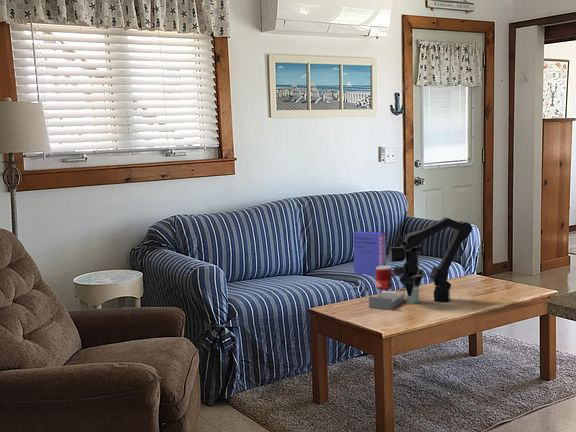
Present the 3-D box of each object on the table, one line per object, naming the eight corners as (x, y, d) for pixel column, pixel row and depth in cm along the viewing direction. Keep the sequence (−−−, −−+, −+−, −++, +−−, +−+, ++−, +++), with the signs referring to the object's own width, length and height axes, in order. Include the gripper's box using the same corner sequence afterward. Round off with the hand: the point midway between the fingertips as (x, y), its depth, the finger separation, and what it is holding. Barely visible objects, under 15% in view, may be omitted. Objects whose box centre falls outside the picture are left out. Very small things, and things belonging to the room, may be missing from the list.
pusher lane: (404, 299, 309) (404, 289, 308) (390, 309, 292) (390, 298, 291) (383, 297, 314) (383, 287, 313) (369, 307, 297) (368, 297, 296)
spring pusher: (396, 301, 304) (396, 292, 303) (396, 302, 303) (396, 292, 302) (381, 300, 307) (381, 291, 307) (381, 300, 306) (381, 291, 306)
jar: (420, 301, 305) (420, 286, 304) (416, 304, 299) (416, 289, 299) (408, 300, 308) (407, 285, 307) (403, 303, 302) (403, 288, 302)
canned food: (391, 290, 329) (391, 268, 327) (375, 289, 330) (375, 268, 329) (392, 286, 336) (391, 265, 335) (376, 286, 338) (376, 265, 337)
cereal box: (386, 274, 365) (385, 232, 362) (382, 276, 361) (381, 233, 358) (358, 272, 374) (357, 231, 371) (354, 273, 370) (353, 232, 367)
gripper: (401, 256, 313) (402, 287, 315) (388, 263, 297) (389, 296, 299) (424, 257, 308) (424, 289, 310) (412, 264, 292) (412, 298, 294)
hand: (412, 293), depth 303 cm, fingers open, 9 cm apart
